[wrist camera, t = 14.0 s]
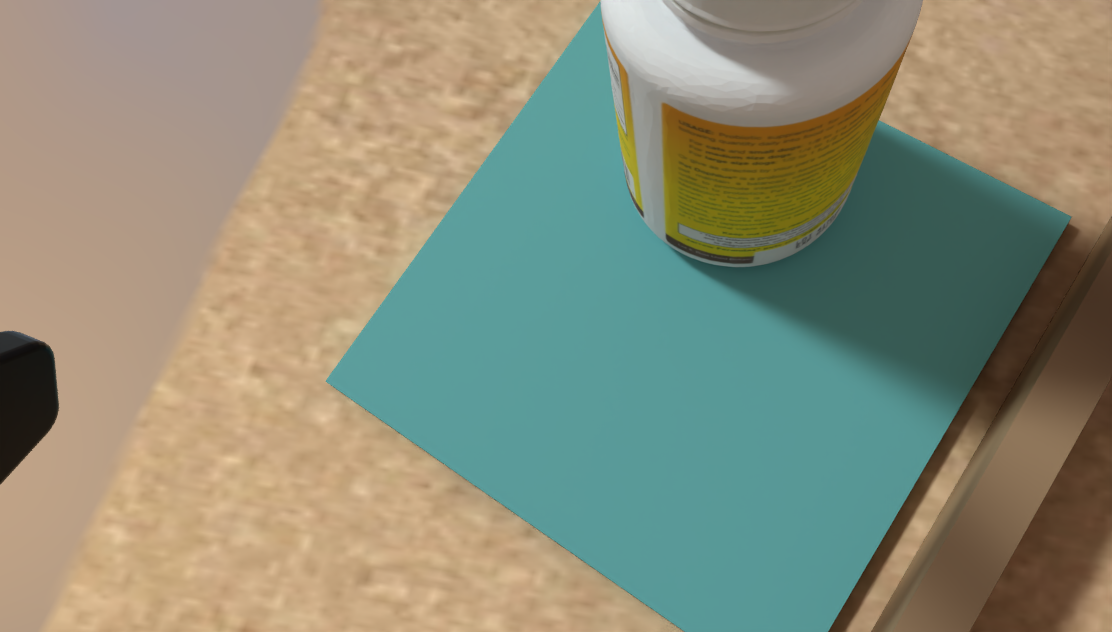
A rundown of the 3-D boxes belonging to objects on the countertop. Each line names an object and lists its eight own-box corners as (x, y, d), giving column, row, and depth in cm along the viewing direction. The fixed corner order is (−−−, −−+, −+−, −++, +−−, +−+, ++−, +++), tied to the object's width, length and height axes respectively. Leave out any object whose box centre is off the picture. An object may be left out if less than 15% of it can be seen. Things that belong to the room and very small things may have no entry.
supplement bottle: (899, 185, 23) (1057, -118, 13) (717, 319, 23) (744, 108, 13) (751, 33, 25) (796, -335, 15) (581, 155, 24) (514, -140, 15)
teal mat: (785, 700, 20) (786, 702, 20) (329, 383, 24) (325, 381, 24) (1066, 221, 23) (1071, 216, 22) (611, -7, 26) (610, -14, 26)
